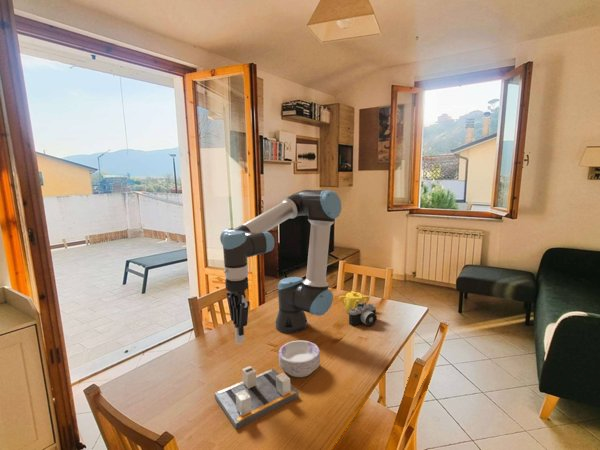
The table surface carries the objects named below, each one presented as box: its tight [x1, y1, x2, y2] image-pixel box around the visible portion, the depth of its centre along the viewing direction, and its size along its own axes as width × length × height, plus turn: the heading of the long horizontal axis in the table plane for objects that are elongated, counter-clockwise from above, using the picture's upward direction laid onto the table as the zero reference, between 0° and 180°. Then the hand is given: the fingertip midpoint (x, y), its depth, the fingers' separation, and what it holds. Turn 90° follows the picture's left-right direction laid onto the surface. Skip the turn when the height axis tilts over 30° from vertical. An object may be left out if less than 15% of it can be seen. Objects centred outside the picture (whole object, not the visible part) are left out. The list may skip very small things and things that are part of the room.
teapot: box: [339, 290, 370, 314], centre depth 167 cm, size 14×13×10 cm
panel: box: [214, 368, 300, 430], centre depth 103 cm, size 16×22×7 cm
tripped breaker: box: [241, 365, 257, 389], centre depth 107 cm, size 4×3×5 cm
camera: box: [348, 301, 378, 327], centre depth 153 cm, size 16×9×10 cm, turn 117°
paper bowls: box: [278, 340, 321, 378], centre depth 118 cm, size 15×15×8 cm
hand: (239, 342), depth 111 cm, fingers closed
